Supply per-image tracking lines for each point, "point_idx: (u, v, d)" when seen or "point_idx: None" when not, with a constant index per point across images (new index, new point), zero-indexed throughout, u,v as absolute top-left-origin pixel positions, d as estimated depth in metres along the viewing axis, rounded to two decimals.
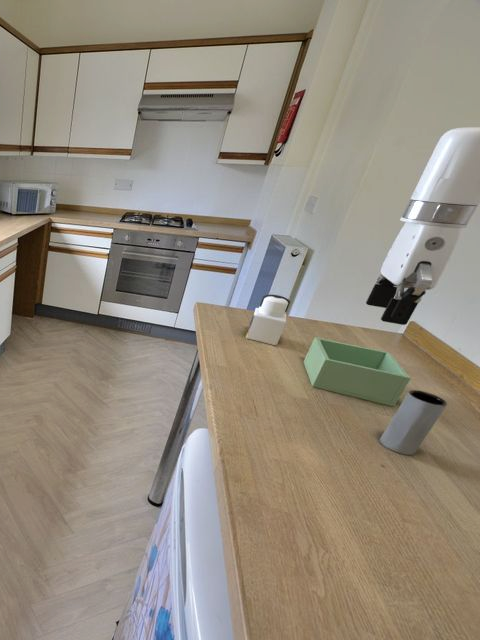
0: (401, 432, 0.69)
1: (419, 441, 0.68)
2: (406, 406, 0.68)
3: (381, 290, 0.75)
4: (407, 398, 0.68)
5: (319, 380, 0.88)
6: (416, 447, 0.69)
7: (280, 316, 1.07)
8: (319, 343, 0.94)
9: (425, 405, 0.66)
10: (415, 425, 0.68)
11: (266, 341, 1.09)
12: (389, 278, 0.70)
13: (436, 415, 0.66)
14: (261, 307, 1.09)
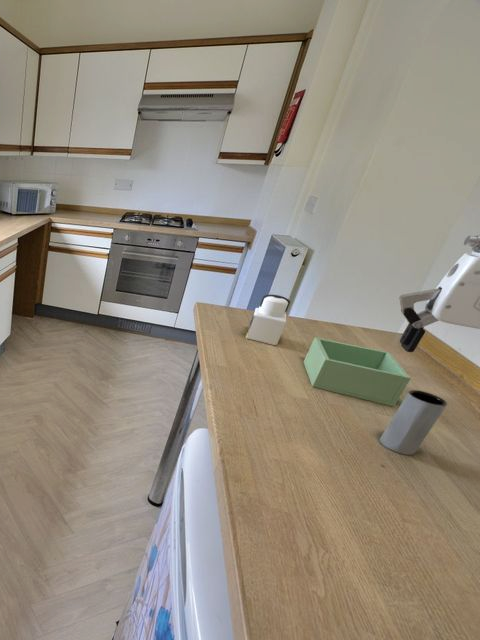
0: (401, 432, 0.69)
1: (419, 441, 0.68)
2: (406, 406, 0.68)
3: None
4: (407, 398, 0.68)
5: (319, 380, 0.88)
6: (416, 447, 0.69)
7: (280, 316, 1.07)
8: (319, 343, 0.94)
9: (425, 405, 0.66)
10: (415, 425, 0.68)
11: (266, 341, 1.09)
12: None
13: (436, 415, 0.66)
14: (261, 307, 1.09)
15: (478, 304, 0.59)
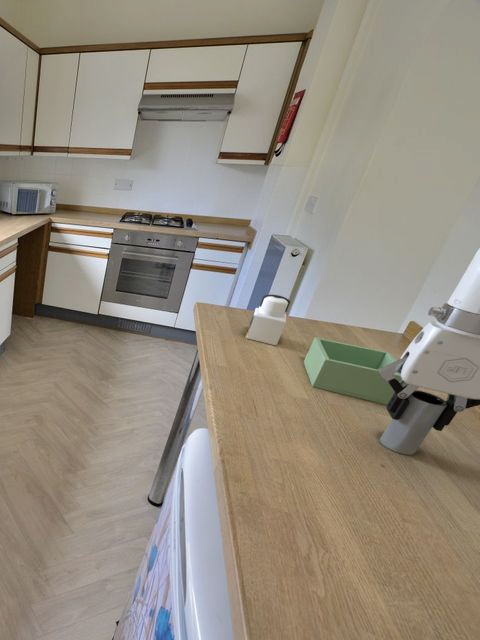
0: (401, 432, 0.69)
1: (419, 441, 0.68)
2: None
3: None
4: None
5: (319, 380, 0.88)
6: (416, 447, 0.69)
7: (280, 316, 1.07)
8: (319, 343, 0.94)
9: (425, 405, 0.66)
10: (415, 425, 0.68)
11: (266, 341, 1.09)
12: None
13: (436, 415, 0.66)
14: (261, 307, 1.09)
15: (442, 371, 0.63)
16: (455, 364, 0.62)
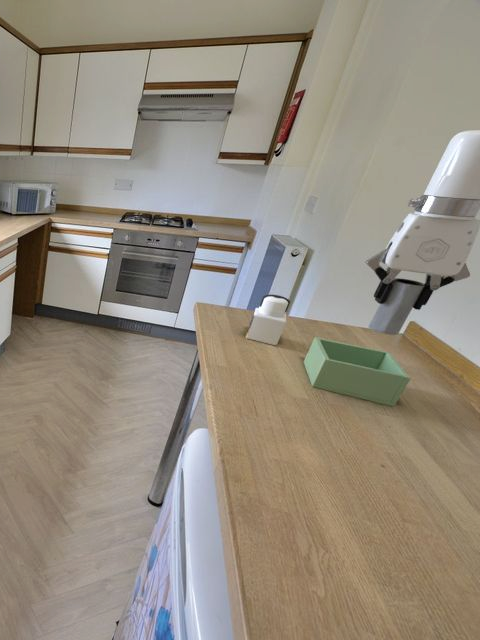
0: (386, 314, 0.80)
1: (402, 321, 0.80)
2: (390, 291, 0.79)
3: None
4: None
5: (319, 380, 0.88)
6: (399, 327, 0.80)
7: (280, 316, 1.07)
8: (319, 343, 0.94)
9: (406, 286, 0.77)
10: (398, 306, 0.79)
11: (266, 341, 1.09)
12: None
13: (415, 295, 0.77)
14: (261, 307, 1.09)
15: (419, 253, 0.74)
16: (430, 245, 0.73)
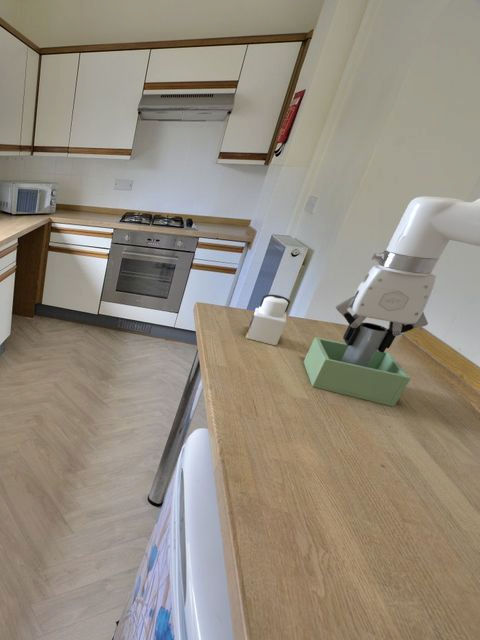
0: (354, 355, 0.88)
1: (368, 362, 0.87)
2: None
3: None
4: None
5: (319, 380, 0.88)
6: None
7: (280, 316, 1.07)
8: (319, 343, 0.94)
9: (371, 331, 0.85)
10: (364, 348, 0.86)
11: (266, 341, 1.09)
12: None
13: (379, 339, 0.85)
14: (261, 307, 1.09)
15: (382, 302, 0.82)
16: (391, 296, 0.81)
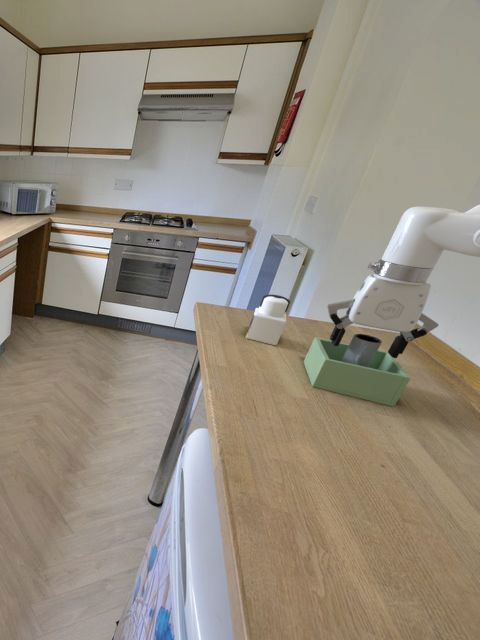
0: None
1: None
2: (352, 345, 0.88)
3: (395, 341, 0.85)
4: (353, 339, 0.88)
5: (319, 380, 0.88)
6: None
7: (280, 316, 1.07)
8: (319, 343, 0.94)
9: (365, 343, 0.86)
10: (358, 359, 0.87)
11: (266, 341, 1.09)
12: None
13: (373, 351, 0.86)
14: (261, 307, 1.09)
15: (378, 311, 0.83)
16: (387, 305, 0.82)
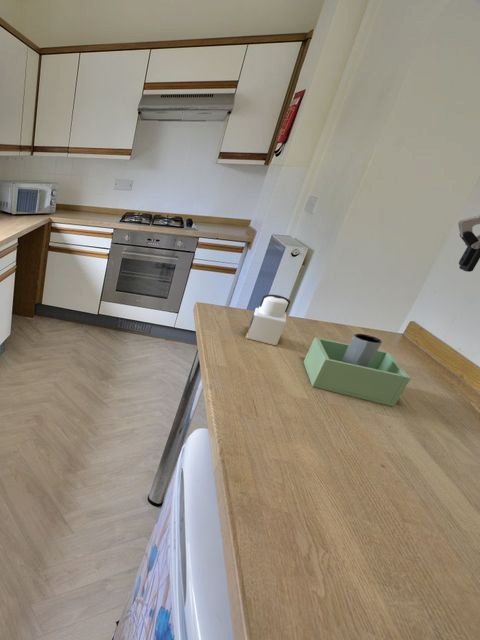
0: None
1: None
2: (352, 345, 0.88)
3: None
4: (353, 339, 0.88)
5: (319, 380, 0.88)
6: None
7: (280, 316, 1.07)
8: (319, 343, 0.94)
9: (365, 343, 0.86)
10: (358, 359, 0.87)
11: (266, 341, 1.09)
12: None
13: (373, 351, 0.86)
14: (261, 307, 1.09)
15: None
16: None
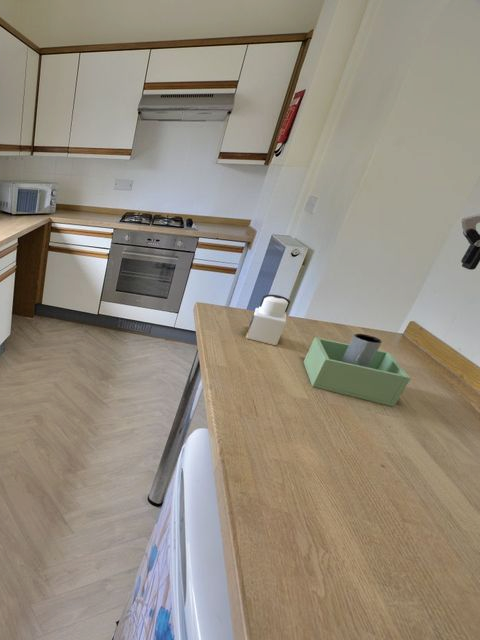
0: None
1: None
2: (352, 345, 0.88)
3: None
4: (353, 339, 0.88)
5: (319, 380, 0.88)
6: None
7: (280, 316, 1.07)
8: (319, 343, 0.94)
9: (365, 343, 0.86)
10: (358, 359, 0.87)
11: (266, 341, 1.09)
12: None
13: (373, 351, 0.86)
14: (261, 307, 1.09)
15: None
16: None
